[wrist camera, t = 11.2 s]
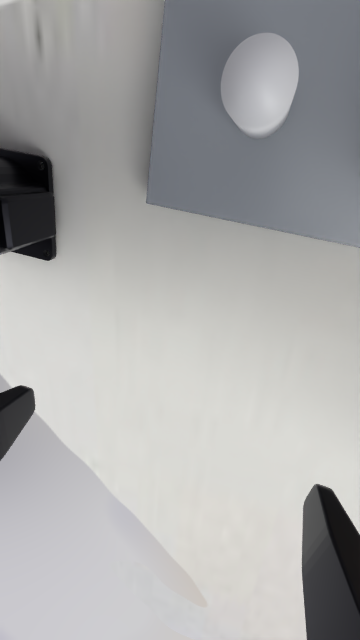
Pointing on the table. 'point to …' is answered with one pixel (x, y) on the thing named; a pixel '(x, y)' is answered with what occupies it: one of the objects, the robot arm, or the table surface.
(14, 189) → the robot arm
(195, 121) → the pin board
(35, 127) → the table surface
